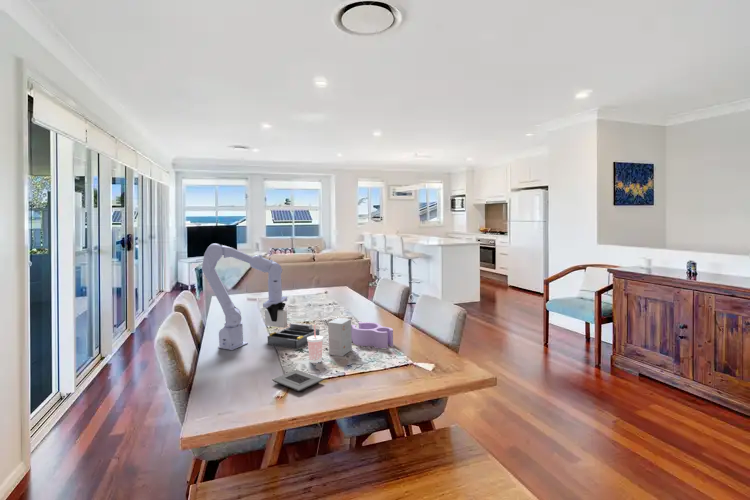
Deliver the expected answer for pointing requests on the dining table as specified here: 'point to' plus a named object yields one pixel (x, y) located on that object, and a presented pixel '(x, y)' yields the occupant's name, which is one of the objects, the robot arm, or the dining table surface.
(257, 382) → the dining table surface
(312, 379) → the grey picture frame
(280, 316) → the block
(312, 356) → the beverage cup
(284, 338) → the rack
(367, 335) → the clip
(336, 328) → the small box
